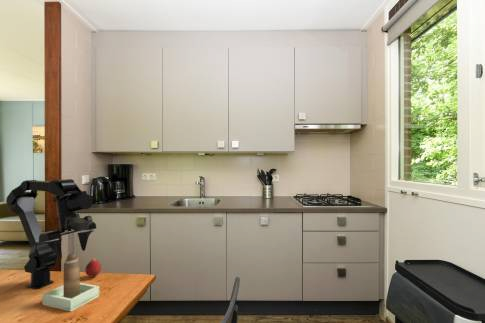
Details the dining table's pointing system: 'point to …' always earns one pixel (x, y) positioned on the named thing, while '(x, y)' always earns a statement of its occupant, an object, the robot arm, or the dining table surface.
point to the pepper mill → (71, 276)
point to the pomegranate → (93, 268)
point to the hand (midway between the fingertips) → (72, 254)
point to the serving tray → (59, 301)
